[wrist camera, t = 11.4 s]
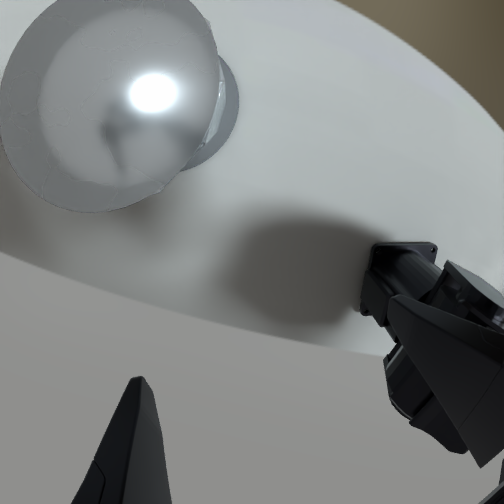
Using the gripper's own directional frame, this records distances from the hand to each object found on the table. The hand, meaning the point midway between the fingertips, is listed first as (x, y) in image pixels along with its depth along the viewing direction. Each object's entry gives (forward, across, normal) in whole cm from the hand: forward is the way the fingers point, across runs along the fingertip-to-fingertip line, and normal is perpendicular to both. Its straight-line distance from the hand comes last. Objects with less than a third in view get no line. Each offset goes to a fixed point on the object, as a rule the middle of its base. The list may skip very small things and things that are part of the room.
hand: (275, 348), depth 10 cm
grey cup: (+14, +1, -7) cm, 16 cm away
